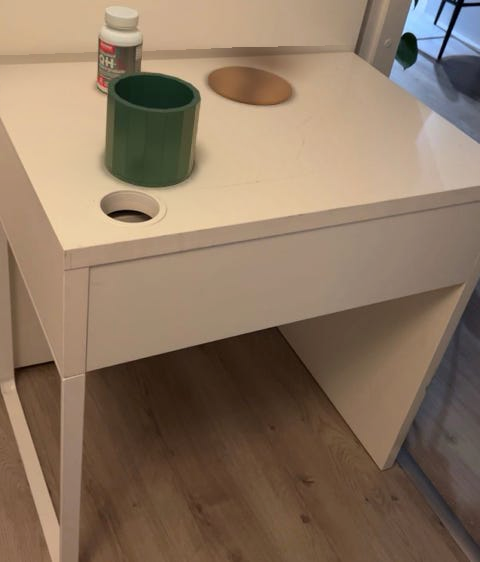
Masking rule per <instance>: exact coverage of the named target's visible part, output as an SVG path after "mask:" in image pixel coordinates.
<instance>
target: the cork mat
mask: <svg viewBox="0 0 480 562" xmlns="http://www.w3.org/2000/svg"><path fill="white" fill-rule="evenodd" d="M207 83H208V85H209V88H211V89H212V91H214V92H215V93H217V94H218V95H220V96H222V97H224V98H225V99H229V100H232V101H235V102H238V103H241V104H248V105H254V106H255V105H257V106H271V105H278V104H281V103H284V102H286V101H288V100H289V99H290V98H291V97H292V94H293V88H292V85H290V83H289V82H288V81H287V80H285V79H284V78H283V77H281V76H279V75H277V74H275V73H273V72H270V71H267V70H264V69H260V68H255V67H250V66H240V65H239V66H237V65H236V66H233V65H232V66H223V67H220V68H216V69H215V70H213V71H211V72H210V73H209V74H208V78H207Z"/></svg>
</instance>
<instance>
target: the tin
mask: <svg viewBox="0 0 480 562" xmlns="http://www.w3.org/2000/svg"><path fill="white" fill-rule="evenodd" d="M201 101H202V97H201V92H200V91H199V89H198V88H197V87H196V86H195V85H193V84H192V83H191V82H188V81H186V80H184V79H182V78H179V77H177V76H174V75H170V74H164V73H161V72H150V71H141V72H136V73H126V74H123V75H120V76H117V77H115V78H113V79H112V80H111V81H110V82H109V83H108V84H107V93H106V110H105V111H106V115H105V137H104V139H105V142H104V165H105V167H106V169H107V171H108V172H109V173H110V174H111V175H113V176H114V177H115V178H116V179H119V180H120V181H123V182H125V183H128V184H132V185H135V186H140V187H147V188H162V187H171V186H173V185H177V184H180V183H182V182H183V181H186V179H188V178H189V177H190V175H191V173H192V169H193V167H194V162H195V161H194V160H195V153H196V143H197V137H198V136H197V135H198V129H199V119H200V112H201V104H202V103H201Z"/></svg>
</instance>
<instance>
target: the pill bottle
mask: <svg viewBox="0 0 480 562" xmlns="http://www.w3.org/2000/svg"><path fill="white" fill-rule="evenodd" d="M139 16H140V15H139V12H138V11H137V10H136V9H133V8H131V7H128V6H121V5H112V6H109V7H106V8H105V11H104V22H105V25H102V26H101V28H100V29H99V30H98V41H97V43H98V44H97V70H96V71H97V72H96V73H97V74H96V86H97V87H98V88H99V90H100V91H101V92H104V93H105V94H107V84H108V83H109V82H110V81H111V80H112V79H113V78H115V77H117V76H120V75H123V74H126V73H136V72H142V57H143V44H144V35H143V33H142V31H141V30H140V29H139V28H137V27H138V26H139Z"/></svg>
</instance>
